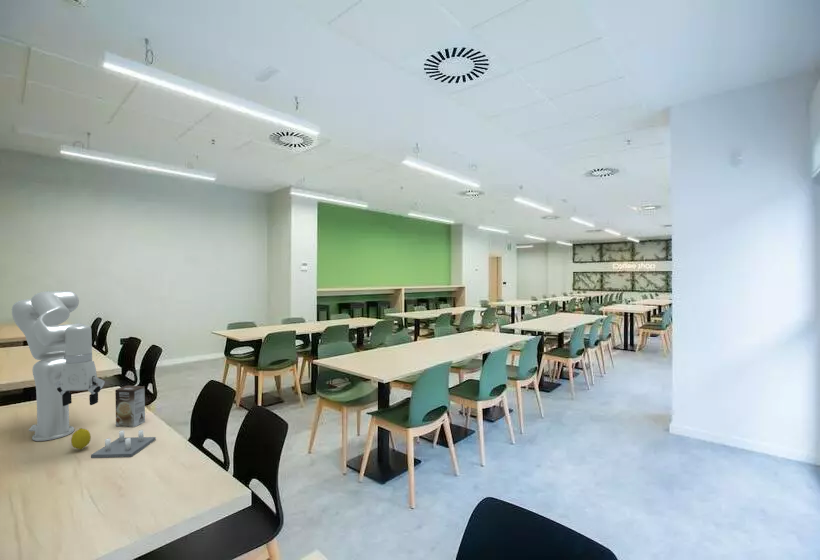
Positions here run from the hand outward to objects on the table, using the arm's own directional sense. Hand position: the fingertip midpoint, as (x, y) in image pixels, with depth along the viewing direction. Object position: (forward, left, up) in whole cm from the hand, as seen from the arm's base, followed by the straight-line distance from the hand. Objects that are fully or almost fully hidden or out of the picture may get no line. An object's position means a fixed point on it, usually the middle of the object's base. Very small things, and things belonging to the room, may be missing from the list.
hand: (80, 404), depth 143 cm
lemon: (0, 0, -17) cm, 17 cm away
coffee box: (+2, +24, -17) cm, 30 cm away
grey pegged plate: (+16, 0, -17) cm, 23 cm away
